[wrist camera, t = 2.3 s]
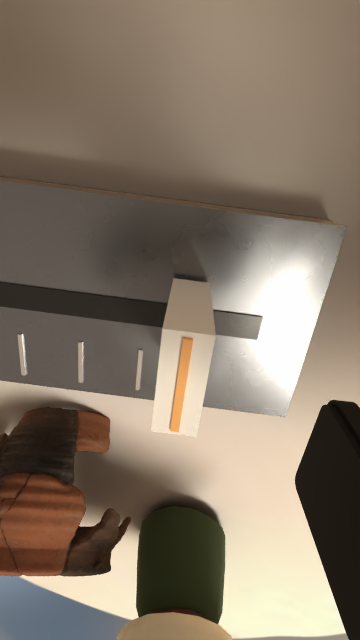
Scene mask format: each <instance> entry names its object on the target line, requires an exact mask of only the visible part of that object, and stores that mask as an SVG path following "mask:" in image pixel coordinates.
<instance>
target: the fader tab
mask: <svg viewBox="0 0 360 640" xmlns="http://www.w3.org/2000/svg"><path fill="white" fill-rule="evenodd" d="M215 337H216V333H215V324H214V315H213V306H212V297H211V287H210V283H207V282H199V281H192V280H184V279H176V278H173V283H172V287H171V292H170V296H169V301H168V305H167V310H166V314H165V319H164V323H163V328H162V336H161V345H160V354H159V363H158V372H157V382H156V391H155V400H154V409H153V418H152V427H151V431H154V432H162V433H170V434H177V435H185V436H193V437H197V433H198V427H199V422H200V417H201V411H202V406H203V401H204V396H205V390H206V385H207V380H208V374H209V369H210V364H211V358H212V353H213V348H214V342H215Z"/></svg>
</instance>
